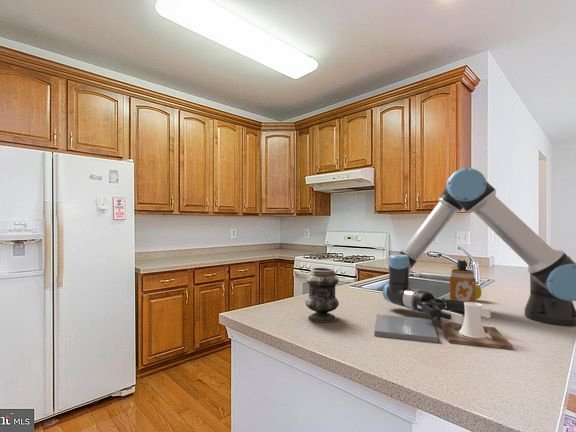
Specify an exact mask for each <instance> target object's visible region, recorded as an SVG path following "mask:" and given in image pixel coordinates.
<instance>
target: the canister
mask: <svg viewBox="0 0 576 432" xmlns="http://www.w3.org/2000/svg"><path fill="white" fill-rule="evenodd" d="M467 267H468V262H467V261H466V260H465V259H464V260H460V259H457V263H456V265H454V266H452V267H451V272H450V273H451V274H450V275H451V276H449V300H456V301H463V302H475V303H477V300H476V284H477V283H476V281H477V279H476V278H475V272H474V271H473V270H471V269H469V268H467ZM454 311H455V312H456V313H457V312H458V313H464V314H465V311H458V310H454Z"/></svg>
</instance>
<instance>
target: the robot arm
mask: <svg viewBox="0 0 576 432" xmlns="http://www.w3.org/2000/svg"><path fill="white" fill-rule="evenodd" d="M496 194H497V189H496V188H495V187H494V186H493V185H492V184H490V182H489V181H487V180H486V177H485V175H484V174H483V173H482V172H481V171H480V170H477V169H476V168H472V167H463V168H460V169H458V170H456V171H454V172H452V174H450V176H448V178H447V181H446V185H445V188H444V189H443V191H442V193H441V194H440V195H439V197H438V199H437V200H438V202H437V204H436V205H435V207H434V208H433V209H432V210H431V212H430V213H429V214H428V216H427V217H426V218H425V219H424V221H423V222H422V223H421V225H420V226H419V227H418V228H417V230H416V231H415V232H414V233H413V235H412V236H411V238H410V239H409V241H407V243H406V244H405V245H404V247H403V248H402V249H401V251H400V252H399V253H396V254H390V255H389V256H388V283H386V284H385V285H384V286H383V289H382V296H383V299H384V300H385V301H387V302H389V303H391V304H393V305H397V306H399V307H404V308H406V309H410V310H411V311H413V312H414V311H417V312H419V313H422V314H425V315H426V316H428V317H429V318H430V319H436V321H441V320H444V321H449V322H450V323H454V324H461V325H462V324H463V322H464V315H463V314H459V313H457V312H453V311H455V310H458V311H465V308H464V302H463V301H456V300H450V298H449V299H447V298H444V297H443V298H441V299H440V298H436V297H435V296H434V295H433V294H432V293H431V292H428V291H425V290H421V289H417V288H412V287H410V271H411V270H412V268H413V267H414V266H415V265H416V263H417V262H418V260H420V258H421V257H422V255H424V253H425V252H426V251H427V250H428V248H429V247H430V245H432V243H433V242H434V241H435V240H436V238H437V237H438V236H439V235H440V233H441V232H442V230H443V229H444V228H445V227H446V225H448V223H449V222H450V220H451V219H452V218H453V217H454V216H455V215H456V213H461V212H462V210H464V211H466V212H467V213H474V214H475V215H476V216H477V217H478V218H479V219H480V220H481V221H482V222H484V224H485V225H486V226H488V228H490V229H491V230H492V231H493V232H494V233H495V234H496V236H498V237H499V239H501V240H502V241H503V242H504V243H505V244H506V245H507V246H508V247H509V248H510V249H511V250H512V251H513V252H514V253H516V255H517V256H519V258H520V259H522V260H523V262H525V263H526V265H527V266H528V269H527V272H528V273H529V288H530V289H529V291H530V292H529V297H528V300H527V303H526V305H525V307H524V316H525V317H526V318H527V319H531V320H533V321H537V322H541V323H545V324H550V325H551V324H552V325H556V326H557V325H559V326H576V307H575V304H574V302H576V262H575V261H574V260H573V259H572V258H571V256H569V255H567V254H566V253H565V252H564V251H563V250H559V249H554V248H552V247H551V246H550V245H549V244H548V243H547V242H546V241H545V240H544V239H543V238H541V236H539V235H538V233H536V232H535V231H534V230H533V229H532V228H531V227H530V226H528V225H527V224H526V223H525V222H524V221H523V220H522V219H521V218H520V217H519V216H518V215H517V214H515V213H514V212H513V210H511V209H510V208H509V207H508V206H507V205H506V204H505V203H503V202H502V201H501V200H500V199H499V197H497V195H496ZM491 316H492V315H491V308H487V307H483V306H482V308H481V317H483V318H487V319H491ZM441 322H442V321H441Z"/></svg>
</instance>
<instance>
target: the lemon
mask: <svg viewBox="0 0 576 432" xmlns="http://www.w3.org/2000/svg"><path fill="white" fill-rule="evenodd" d="M481 297H482V288H481V286H480V285H479V284H477V283H476V301H477V300H479V299H480V298H481Z"/></svg>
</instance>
